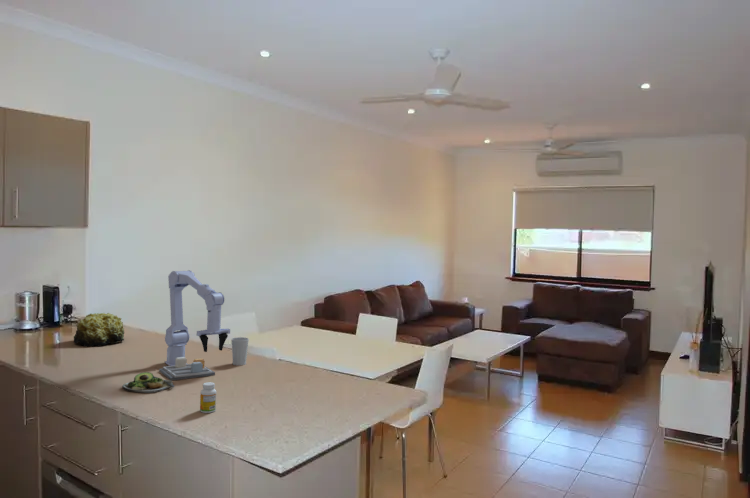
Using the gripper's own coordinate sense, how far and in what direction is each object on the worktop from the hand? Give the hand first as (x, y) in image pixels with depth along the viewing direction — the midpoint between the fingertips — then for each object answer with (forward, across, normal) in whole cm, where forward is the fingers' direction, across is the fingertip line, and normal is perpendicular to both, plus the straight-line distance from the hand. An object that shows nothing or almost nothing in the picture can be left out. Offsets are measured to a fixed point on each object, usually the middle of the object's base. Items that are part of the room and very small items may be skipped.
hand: (213, 350), depth 246 cm
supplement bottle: (+11, -19, -46) cm, 51 cm away
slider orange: (+9, -4, +6) cm, 12 cm away
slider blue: (+9, -7, 0) cm, 12 cm away
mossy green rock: (+11, -29, +91) cm, 96 cm away
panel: (+10, -9, +6) cm, 15 cm away
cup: (+11, +18, +12) cm, 24 cm away
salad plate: (+11, -29, -6) cm, 32 cm away
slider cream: (+9, -10, +12) cm, 18 cm away
